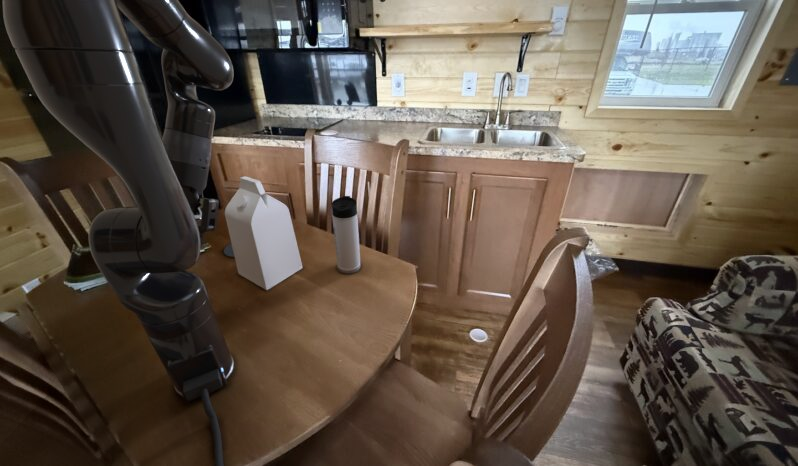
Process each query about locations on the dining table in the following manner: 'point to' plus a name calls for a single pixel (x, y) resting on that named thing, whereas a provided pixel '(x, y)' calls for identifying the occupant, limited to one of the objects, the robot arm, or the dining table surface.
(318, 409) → the dining table surface
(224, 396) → the dining table surface
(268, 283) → the white box
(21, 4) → the robot arm
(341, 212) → the travel mug
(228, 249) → the coaster
